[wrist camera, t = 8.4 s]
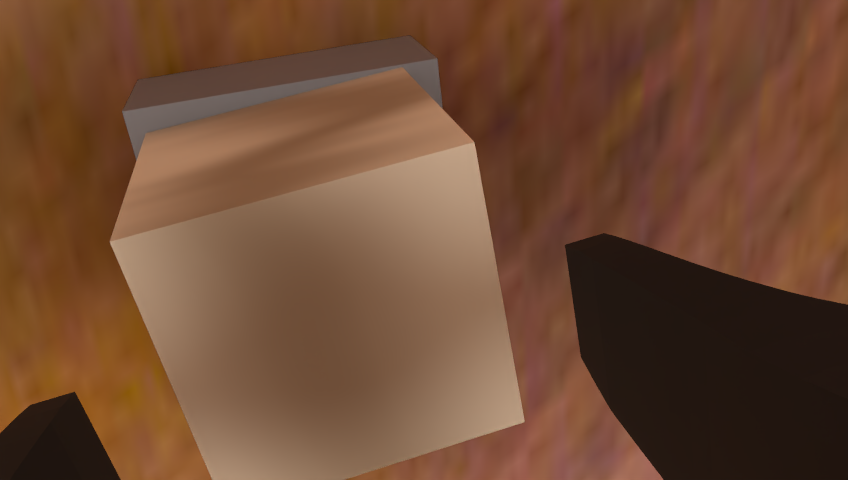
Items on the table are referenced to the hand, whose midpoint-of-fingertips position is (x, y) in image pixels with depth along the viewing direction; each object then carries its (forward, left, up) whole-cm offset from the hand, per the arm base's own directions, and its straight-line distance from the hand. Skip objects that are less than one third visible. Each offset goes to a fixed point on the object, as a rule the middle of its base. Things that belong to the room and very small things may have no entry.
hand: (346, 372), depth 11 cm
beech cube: (0, 0, -5) cm, 5 cm away
